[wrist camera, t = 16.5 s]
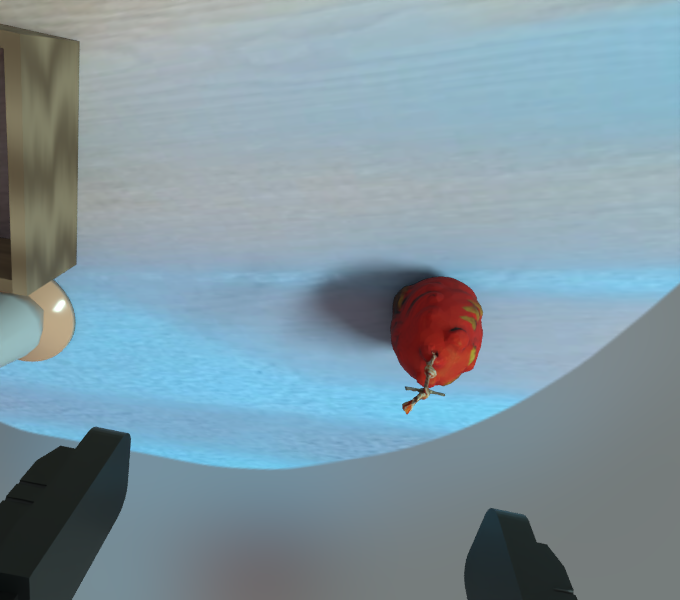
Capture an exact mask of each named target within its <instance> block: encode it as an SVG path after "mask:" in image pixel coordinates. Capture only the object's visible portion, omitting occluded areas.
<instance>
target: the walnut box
mask: <svg viewBox="0 0 680 600" xmlns="http://www.w3.org/2000/svg"><path fill="white" fill-rule="evenodd" d="M0 48H4V71H5V98H6V125H7V152H8V180H9V207H10V234H11V239H6V238H1V237H0V291H3V292H8V293H13V294H18V295H23V296H28V295H30V294H31V293H33V292H34V291H36V290H38V289H39V288H41V287H42V286H44V285H45V284H47V283H48V282H50V281H51V280H53V279H55V278H56V277H58V276H59V275H61V274H62V273H64V272H65V271H67V270H69V269H70V268H72V267H73V266H75V265H76V253H77V181H78V109H79V41H74V40H70V39H66V38H61V37H57V36H52V35H48V34H43V33H39V32H34V31H30V30H26V29H21V28H17V27H12V26H8V25H3V24H0Z"/></svg>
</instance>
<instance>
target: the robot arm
mask: <svg viewBox="0 0 680 600" xmlns="http://www.w3.org/2000/svg"><path fill="white" fill-rule="evenodd" d="M130 445H131V437H130V434H129V433H124V432H119V431H114V430H109V429H104V428H99V427H93V428H92V429H90V430H89V432H88V433H87V434H86V435H85V437H84V438H83V439H82V441H81V442H80V443H79V445H78V446H77V447H76V448H75V449H74V448H69V447H64V446H59V447H58V448H56V449H55V450H53V451H52V452H50V453H48V454H46V455H45V456H43V457H41V458H40V459H38V460H37V461H36V462H35V463H34V464H33V465H32V467H31V468H30V469H29V470H28V471H27V472H26V474H25V475H24V476H23V477H22V478H21V480H20V482H19V484H16V485H15V486H14V488H13V489H12V490H11V491H10V492H9V494H8V495H7V496H6V499H5V501H2V502H1V503H0V600H72V598H73V596H74V595H75V593H76V591H77V589H78V587H79V586H80V584H81V582H82V580H83V578H84V577H85V575H86V573H87V571H88V569H89V568H90V566H91V564H92V562H93V561H94V559H95V557H96V555H97V553H98V552H99V550H100V548H101V546H102V544H103V543H104V541H105V539H106V537H107V535H108V534H109V532H110V530H111V528H112V526H113V525H114V523H115V521H116V519H117V517H118V515H119V513H120V511H121V509H122V506H123V503H124V500H125V496H126V492H127V486H128V472H129V458H130ZM464 581H465V589H466V594H467V599H468V600H577V597H576V595H574V594H573V588H572V585H571V583H570V580H569V578H568V575H567V573H566V570H565V568H564V566H563V565H562V564H561V562H560V561H559V560H558V558H557V557H556V556H555V554H554V553H553V552H552V551H551V549H550V548H549V547H548V545H546V544H542V543H537V542H536V539H535V537H534V534H533V531H532V529H531V526H530V523H529V521H528V519H527V517H526V516H525V515H523V514H518V513H512V512H508V511H503V510H498V509H493V508H490V509H489V510H488V511H487V512H486V514H485V516H484V519H483V521H482V523H481V525H480V528H479V530H478V532H477V535H476V537H475V540H474V542H473V544H472V546H471V549H470V551H469V553H468V556H467V559H466V563H465V572H464Z"/></svg>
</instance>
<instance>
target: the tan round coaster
mask: <svg viewBox="0 0 680 600" xmlns="http://www.w3.org/2000/svg"><path fill="white" fill-rule="evenodd" d="M0 292H3V291H0ZM5 293H8V292H5ZM28 296H29V297H30V298H32V299H33V300H34V301H35V302H36V303H37V304H38V305H39V306H40V307H41V308H42V309H43V310H44V321H43V331H42V334H41V338H40V341H39V344H38V345H37V346H36V348H34V349H33V350H32V351H31V352H30V353H28V354H27V355H26V356H24V357H22V358H20V359H18V360H22V361H42V360H46V359H49V358H52V357H54V356H55V355H57V354H58V353H60V352H61V351H62V350H63V349H64V348H65V347H66V346H67V345H68V344H69V342H70V341H71V339H72V337H73V335H74V331H75V314H74V309H73V307H72V304H71V302H70V300H69V298H68V296H67V295H66V293H65V292H64V290H63V289H62V288H61V287H60V286H59V285H58V284H57V283H56V282H55V281H54V280H51V281H50V282H48V283H47V284H45V285H44V286H42V287H41V288H39V289H38V290H36V291H34V292H33V293H31V294H30V295H28Z"/></svg>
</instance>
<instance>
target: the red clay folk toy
mask: <svg viewBox="0 0 680 600" xmlns="http://www.w3.org/2000/svg"><path fill="white" fill-rule="evenodd" d="M482 315H483V311H482V308H481V305H480V304H479V303H478V301H477V297H476V295H475V293H474V292H473V290H472V289H471V288H469V287H468V286H467V285H465V284H464V283H462V282H460V281H458V280H456V279H454V278H450V277H432V278H427V279H424V280H422V281H420V282H418V283H416V284H414V285H410V286H405V287H403V288H402V289H401V290H400V291H399V292H398V294H397V295H396V296H395V297H394V301H393V318H392V322H391V330H390V331H391V343H392V347H393V350H394V352H395V354H396V356H397V358H398V361H399V363H400V365H401V366H402V367H403V368H404V370H405V371H406V372H407V373H408V374H409V375H410V376H411V377H413V378H414V379H416V380H417V383H419V384H420V385H422V386H423V387H424V388H421V389H417V388H412V387H405V389H406V390H412V391H418V392H419V394H418V395H417V396H416V397H414V398H413V400H411V401H408V402H405V403H403V404H402V407H403V410H404V411H405V412H406V414H408V413H409V411H412V408H413V406H414V405H415V404H416V402H418V401H419V400H420V399H422V400H423V399H426V398H428V396H429V395H430V393H431V394H438V395H441V396H445V394H444V393H439V392H434V391H432V390H430V389H428V388H431V387H434V386H435V385H441V386H445V385H448V384H451V383H452V382H453V381H455V380H456V379H457V378H458V377H459V376H460V375H461V374H462V373H464V372H467V371H470V370H472V369H473V367H474V365H475V363H476V359H477V357H478V353H479V350H480V348H481V342H482V336H483V330H482V325H481V323H482V322H481V318H482Z"/></svg>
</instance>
